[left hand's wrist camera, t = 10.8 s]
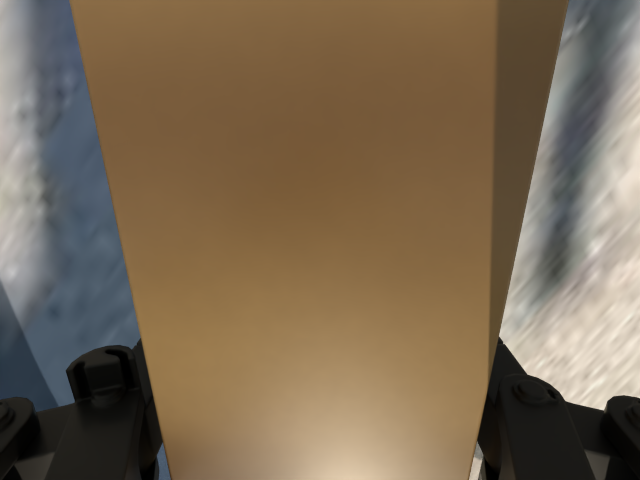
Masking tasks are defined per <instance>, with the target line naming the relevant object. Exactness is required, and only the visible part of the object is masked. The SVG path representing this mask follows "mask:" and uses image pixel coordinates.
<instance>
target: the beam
mask: <svg viewBox="0 0 640 480" xmlns="http://www.w3.org/2000/svg"><path fill="white" fill-rule="evenodd" d="M69 1H70V5H71V10H72V15H73V19H74V24H75V29H76V34H77V38H78V43H79V48H80V52H81V57H82V62H83V67H84V71H85V76H86V81H87V85H88V90H89V95H90V100H91V104H92V109H93V114H94V119H95V123H96V128H97V133H98V137H99V142H100V147H101V152H102V156H103V161H104V166H105V170H106V175H107V180H108V185H109V189H110V194H111V199H112V204H113V208H114V213H115V218H116V222H117V227H118V232H119V237H120V241H121V246H122V251H123V255H124V260H125V265H126V270H127V274H128V279H129V284H130V288H131V293H132V298H133V303H134V307H135V312H136V317H137V322H138V326H139V331H140V336H141V340H142V345H143V350H144V355H145V359H146V364H147V369H148V373H149V378H150V383H151V388H152V392H153V397H154V402H155V407H156V411H157V416H158V421H159V425H160V430H161V435H162V440H163V444H164V449H165V454H166V458H167V463H168V468H169V473H170V477H171V480H469V476H470V472H471V467H472V462H473V457H474V452H475V448H476V443H477V438H478V433H479V428H480V424H481V419H482V414H483V409H484V404H485V400H486V395H487V390H488V385H489V381H490V376H491V371H492V366H493V361H494V357H495V352H496V347H497V342H498V337H499V333H500V328H501V323H502V318H503V313H504V309H505V304H506V299H507V294H508V290H509V285H510V280H511V275H512V270H513V266H514V261H515V256H516V251H517V246H518V242H519V237H520V232H521V227H522V222H523V218H524V213H525V208H526V203H527V199H528V194H529V189H530V184H531V179H532V175H533V170H534V165H535V160H536V155H537V151H538V146H539V141H540V136H541V131H542V127H543V122H544V117H545V112H546V108H547V103H548V98H549V93H550V88H551V84H552V79H553V74H554V69H555V64H556V60H557V55H558V50H559V45H560V40H561V36H562V31H563V26H564V21H565V17H566V12H567V7H568V2H569V0H69Z"/></svg>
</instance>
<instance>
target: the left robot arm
mask: <svg viewBox="0 0 640 480" xmlns="http://www.w3.org/2000/svg"><path fill="white" fill-rule="evenodd" d="M66 373H67V376H68V380H69V383H70V386H71V389H72V393H73V396H74V399H75V403H72V404H69V405H65V406H61V407H57V408H52V409H48V410H44V411H39V412H36V411H35V408H34V405H33V403H32V402H31V401H30V400H28V399H27V398H21V397H13V398H7V399H2V400H0V480H158V479H159V465H158V459H157V454H158V451H159V449H160V447H161V445H162V443H163V440H162V435H161V430H160V425H159V421H158V416H157V411H156V407H155V402H154V397H153V392H152V388H151V383H150V378H149V373H148V369H147V364H146V359H145V355H144V350H143V345H142V340H141V338H140V340H139V341H138V342H137V346H134V348H133V349H132V350H131V349H130V348H129V347H126V346H121V345H113V346H105V347H101V348H97V349H94V350H92V351H90V352H88V353H85V354H83V355H81V356H80V357H79V358H77V359H76V360H75V361H73V362H72V363H71V364H70V366H69V367H68V368H67V370H66ZM477 441H478V444H479V446H480V448H481V450H482V452H483V459H482V464H481V469H480V473H479V478H478V480H640V398H637V397H631V396H625V395H623V396H614V397H612V398H611V399H610V400H608V401H607V404H606V407H605V410H604V411H603V410H599V409H594V408H590V407H586V406H581V405H577V404H573V403H569V402H566V401H565V400H564V398H563V397H562V395H561V394H560V392H559V391H557V390H556V389H555V388H554V387H553V386H551V385H550V384H549V383H547V382H545V381H543V380H541V379H539V378H537V377H533V376H530V375H527V373H526V372H525V371H524V369H523V368H522V367H521V365H520V364H519V363H518V361H517V360H516V359H515V357H514V356H513V355H512V353H511V352H510V351H509V349H508V348H507V347H506V345H505V344H503V341H502V340H501V338H500V337H498V342H497V347H496V352H495V357H494V361H493V366H492V371H491V376H490V381H489V385H488V390H487V395H486V400H485V404H484V409H483V414H482V419H481V424H480V428H479V433H478V438H477Z"/></svg>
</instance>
